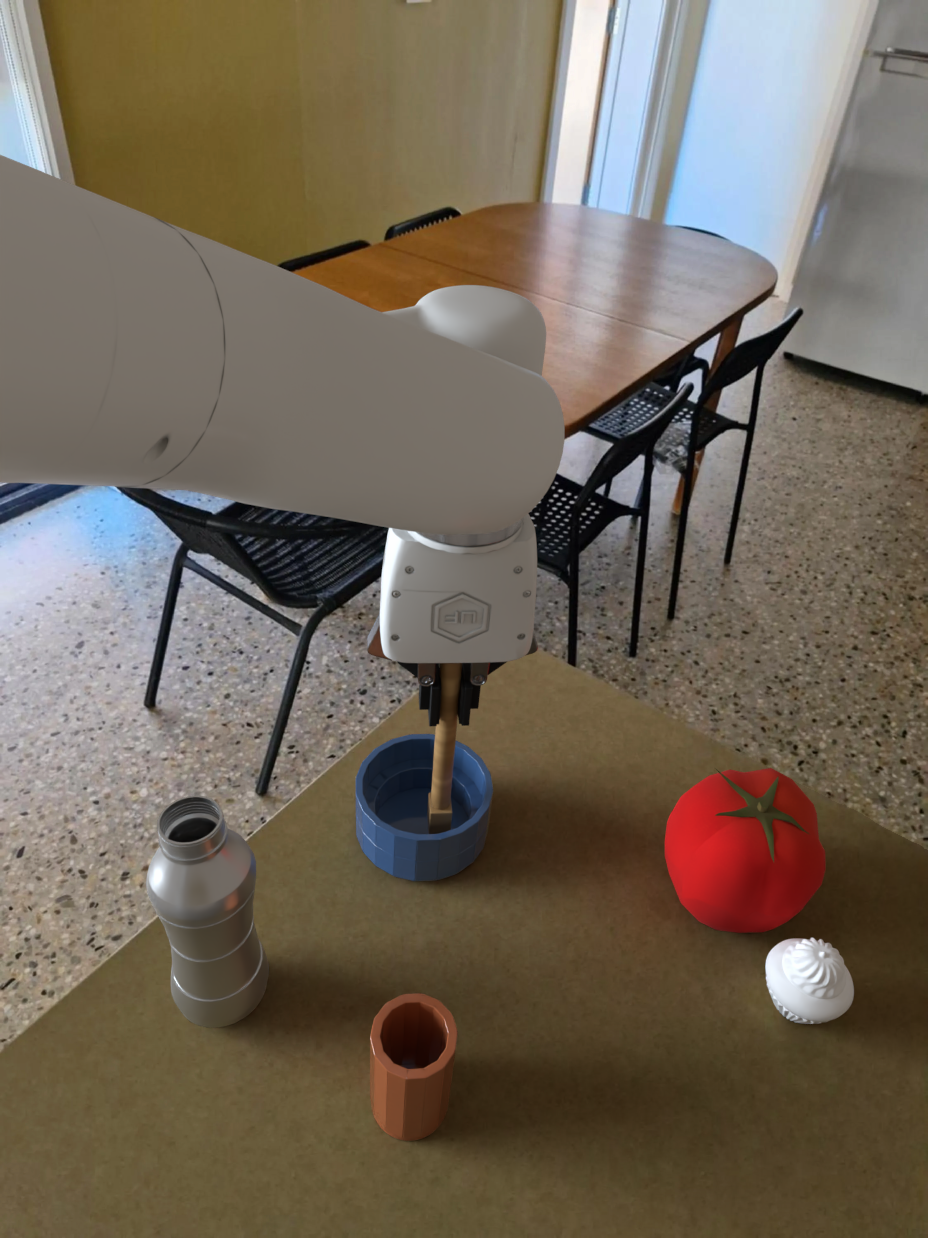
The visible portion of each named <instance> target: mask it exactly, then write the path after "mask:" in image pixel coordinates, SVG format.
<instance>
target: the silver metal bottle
mask: <svg viewBox="0 0 928 1238" xmlns="http://www.w3.org/2000/svg"><path fill="white" fill-rule="evenodd" d="M156 830H157V831H156V832H157V835H158V846H159V847H158V848H157V850H156V851H155V853H154V854H153V856H152V858H151V860H150V863H149V866H148V870H147V874H146V881H145V887H146V894H147V896H148V898H149V901H150V904H151V906H152V908H153V909H154V911H155V914H156V916H157V917H158V919H159V920H160V923H161V924H162V926H163V928H164V931H165V934H166V936H167V939H168V942H169V945H170V953H171V968H170V992H171V997H172V999H173V1003H174V1004H175V1005H176V1007H177V1008H178V1010H179V1011H180V1013H181V1014H182V1015H183V1016H184V1018H185V1019H187V1020H188V1021H189V1022H190V1023H193V1024H194V1025H196V1026H199V1027H203V1028H208V1029H209V1028H210V1029H216V1028H223V1027H228V1026H231V1025H234V1024H236V1023H238V1022H239V1021H241V1020H244V1019H245V1018H246V1017H247V1016H249V1015H250V1014H252V1012H253V1011H255V1009H256V1008H257V1007H258V1006H259V1004H260V1003H261V1001H262V999H263V997H264V995H265V993H266V989H267V984H268V979H269V976H270V963H269V960H268V959H269V958H268V955H267V953H266V949H265V947H264V946H263V944H262V942H261V940H260V939H259V935H258V933H257V929H256V925H255V922H254V921H255V917H254V898H255V890H256V884H257V883H256V881H257V860H256V855H255V853H254V852H253V849H252V848H251V846H250V845H249V843H248V842H247V841H246V839H245V838H244V837H243V836H242V835H241V834H240V833H238V832H236V831H235V830H233V829H231V828H229V827H228V824H227V821H226V820H225V817H224V812H223V810H222V808H221V806H220V804H219V803H218V802H217V801H216V800H214V799H213V798H211V797H208V796H204V795H188V796H184V797H180V798H178V799H176V800H174V801H172V802H170V803H169V804H168V805H166V806H165V808H164V809H162V811H161V812H160V814H159V815H158V818H157V822H156Z"/></svg>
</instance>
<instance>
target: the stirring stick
mask: <svg viewBox="0 0 928 1238" xmlns="http://www.w3.org/2000/svg"><path fill="white" fill-rule="evenodd" d="M461 674H462V663H439V676H440V678H441V687H442V692H441V706H440V720H439V724H437V726H435V730H434V735H435V743H434V758H433V773H432V789H431V793H429V795H428V811H427V819H428V832H429V834H439V833H443V832H446V831H449V830H451V821H452V805H451V788H452V776H453V765H454V753H455V742H456V741H457V732H458V731H457V730H458V705H459V694H460V683H461Z"/></svg>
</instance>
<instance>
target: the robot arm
mask: <svg viewBox="0 0 928 1238" xmlns="http://www.w3.org/2000/svg"><path fill="white" fill-rule="evenodd" d="M546 343H547V326H546V322H545V318H544V316H543V314H542V312H541V310H540V309H539V308H538V307H537V306H536V305H535V303H533V302H532V301H531V300H529V299H528V298H527V297H526V296H523V295H521V294H519V293H516V292H513V291H510V290H507V289H504V288H500V287H494V286H489V285H488V286H487V285H478V284H461V285H460V284H459V285H452V286H446V287H441V288H438V289H435V290H433V291H430V292H428V293H427V294H426V295H424V296H422V297H421V298H420V299H419V300H418V301H417V302H416V304H415V305H413V306H408V307H403V308H399V309H398V308H397V309H393V310H388V311H380V310H377V309H375V308H372V307H370V306H368V305H365V304H363V303H362V302H359V301H356V300H355V299H352V298H350V297H348V296H346V295H344V294H342V293H340V292H338V291H335V290H333V289H331V288H329V287H327V286H325V285H322V284H320V283H317V282H316V281H313V280H310V279H308V278H306V277H303V276H301V275H299V274H297V273H294V272H293V271H289V270H288V269H284V268H282V267H280V266H278V265H276V264H274V263H270V262H268V261H266V260H263V259H260V258H257V257H256V256H253V255H250V254H248V253H246V252H243V251H240V250H238V249H235V248H233V247H232V246H231V247H230V246H229V245H226V244H223V243H221V242H219V241H216V240H214V239H211V238H209V237H206V236H204V235H201V234H198V233H195V232H193V231H190V230H187V229H185V228H182V227H179V226H177V225H175V224H172V223H169V222H167V221H165V220H162V219H160V218H157V217H155V216H152V215H149V214H147V213H145V212H143V211H140V210H137V209H135V208H133V207H129V206H128V205H125V204H122V203H120V202H117V201H115V200H112V199H110V198H108V197H106V196H103V195H101V194H98V193H97V192H93V191H91V190H88V189H85V188H83V187H81V186H78V185H75V184H73V183H71V182H68V181H65V180H63V179H61V178H59V177H56V176H54V175H51V174H49V173H46V172H44V171H42V170H39V169H37V168H35V167H32V166H29V165H27V164H25V163H22V162H19V161H17V160H15V159H12V158H10V157H7V156H4V155H2V154H0V484H19V483H20V484H40V485H41V484H42V485H43V484H44V485H66V486H67V485H70V486H91V487H92V486H93V487H114V488H132V489H152V490H153V489H154V490H155V489H156V490H169V491H170V490H171V491H187V492H192V493H198V494H202V495H206V496H210V497H215V498H220V499H224V500H227V501H228V500H229V501H233V502H237V503H241V504H244V505H251V506H255V507H261V508H265V509H272V510H279V511H286V512H294V513H301V514H306V515H307V514H308V515H315V516H321V517H328V518H333V519H338V520H345V521H350V522H354V523H355V522H356V523H362V524H366V525H371V526H378V527H382V528H383V527H384V528H388V531H387V535H386V540H385V547H384V552H383V560H382V567H381V568H382V569H381V577H380V595H379V613H378V615H377V617H376V619H375V621H374V623H373V625H372V627H371V630H370V632H369V633H368V635H367V638H366V651H367V653H368V654H369V655H370V656H373V657H376V658H381V659H384V660H388V661H394V662H396V663H397V664H398V665H400V666H401V667H402V668H403V669H405V671H407V672H408V673H410V674H412V675H413V676H414V677H415V678H417V683H418V709H419V710H420V711H427V716H428V726H429V727H436V726H437V724H439V720H440V706H441V692H442V687H441V678H440V676H439V668H440V663H462V674H461V683H460V694H459V705H458V719H457V721H458V724H459V725H461V727H468V726H470V719H471V710H478V709H479V706H480V697H481V686H483V685H484V684H486V682H487V681H488V676H490V675H491V674H492V673H493V672H495V671H496V670H498V669H499V668H501V667H502V666H504V665H505V664H506V663H508V662H513V661H517V660H520V659H522V658H523V657H526V656H529V655H533V654H535V653H537V651H538V649H539V645H538V641H537V637H536V633H535V630H534V628H535V617H536V615H535V614H536V601H537V582H538V548H537V546H538V545H537V544H538V543H537V534H536V526H535V524H534V521H532V518H531V516H530V514H529V513H531V512H532V511H533V510H534V509H535V508H536V506H537V505H539V504H540V502H541V501H542V499H543V498H544V496H545V495H546V494H547V493H548V491H549V490H550V488H551V485H552V484H553V482H554V481H555V478H556V476H557V473H558V471H559V467H560V465H561V460H562V458H563V453H564V447H565V440H566V439H565V429H566V427H565V419H564V412H563V410H562V409H563V408H562V406H561V402H560V400H559V397H558V396H557V393H556V391H555V390H554V388H553V387H552V386H551V384H550V383H549V382H548V380H547V379H546V378H545V377H544V376H543V369H544V361H545V353H546V345H547V344H546Z"/></svg>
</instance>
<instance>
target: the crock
mask: <svg viewBox="0 0 928 1238" xmlns="http://www.w3.org/2000/svg"><path fill="white" fill-rule="evenodd" d="M455 1021H456V1020H455V1018H454V1015H453V1014H452V1012H451V1011H450V1010H449V1009H448V1008H447V1007H446V1005H444V1003H442V1001H441V1000H439V999H437V998H435V997H432V996H430V995H427V994H425V993H422V992H417V993H416V992H415V993H403V994H400V995H398V996H396V997H395V998H393V999H390V1000H389V1001H387V1002H386V1003H385V1004H383V1006H382V1007H381V1008H380V1010H379V1011H378V1013H377V1014H376V1015H375V1016H374V1018H373V1021H372V1026H371V1031H370V1035H369V1099H370V1107H371V1112H372V1115H373V1118H374V1120H375V1122H376V1124H377V1125H378V1127H379V1128H380V1129H381V1130H382V1131H383V1132H384V1133H386V1134H387V1135H388V1136H390V1137H391V1138H394V1139H397V1140H400V1141H404V1142H405V1141H406V1142H414V1141H419V1140H422V1139H425V1138H426V1137H428V1136H430V1135H431V1134H433V1133H434V1132H435V1131H436V1130H437V1129H438V1128H439V1127H440V1126H441V1125H442V1123H443V1121H444V1120H445V1118H446V1115H447V1113H448V1110H449V1103H450V1102H449V1101H450V1098H451V1097H450V1096H451V1089H452V1081H453V1073H454V1067H455V1059H456V1052H457V1045H458V1037H459V1031H458V1027H457V1024H456V1022H455Z"/></svg>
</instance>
